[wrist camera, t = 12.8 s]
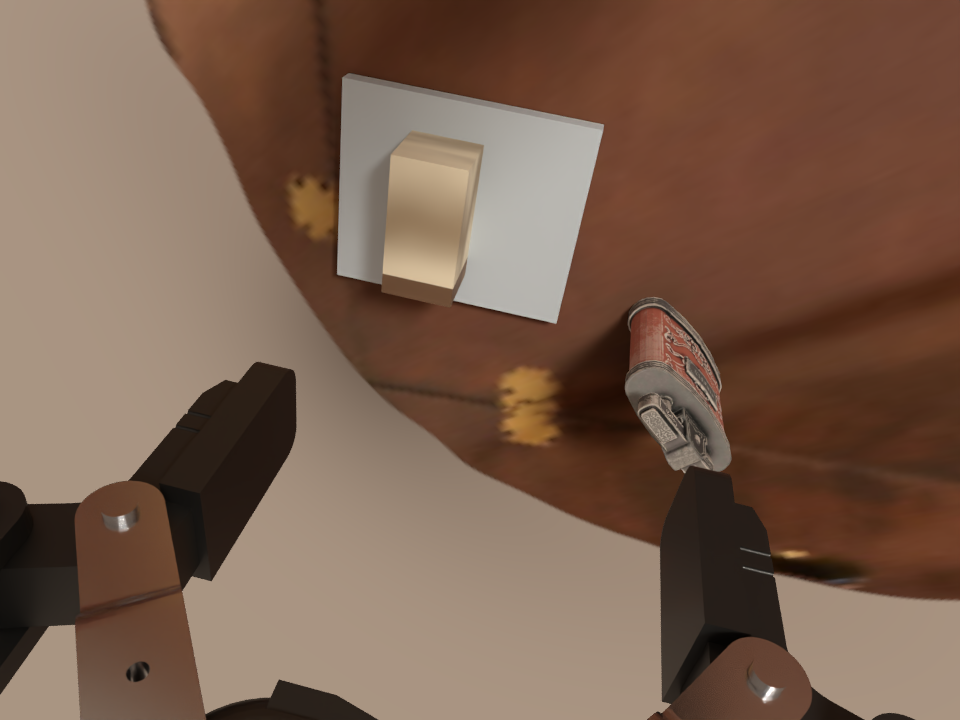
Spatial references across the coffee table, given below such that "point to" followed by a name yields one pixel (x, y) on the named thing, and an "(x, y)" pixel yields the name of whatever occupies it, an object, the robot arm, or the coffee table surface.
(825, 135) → the coffee table surface
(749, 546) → the robot arm
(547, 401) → the coffee table surface
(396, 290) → the block
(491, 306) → the mat
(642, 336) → the lighter
